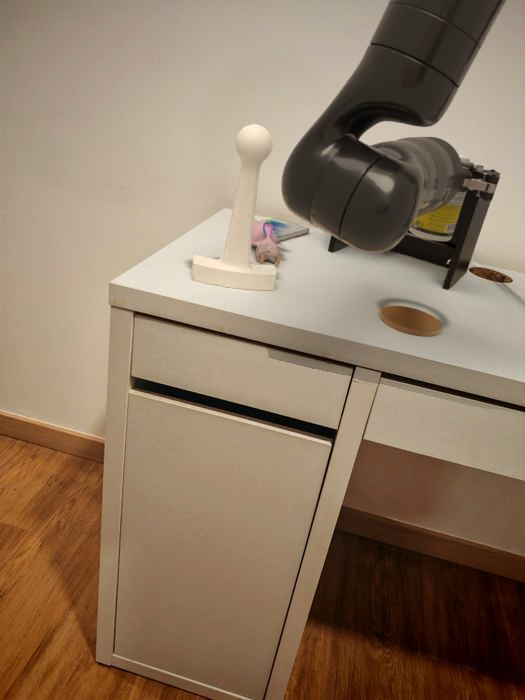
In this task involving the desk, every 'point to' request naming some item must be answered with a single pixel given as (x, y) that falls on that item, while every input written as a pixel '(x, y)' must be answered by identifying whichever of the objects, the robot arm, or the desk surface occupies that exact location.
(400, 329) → the cork trivet
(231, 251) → the joystick
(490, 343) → the desk surface
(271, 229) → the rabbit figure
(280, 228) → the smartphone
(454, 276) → the black open shelf
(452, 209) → the supplement bottle
